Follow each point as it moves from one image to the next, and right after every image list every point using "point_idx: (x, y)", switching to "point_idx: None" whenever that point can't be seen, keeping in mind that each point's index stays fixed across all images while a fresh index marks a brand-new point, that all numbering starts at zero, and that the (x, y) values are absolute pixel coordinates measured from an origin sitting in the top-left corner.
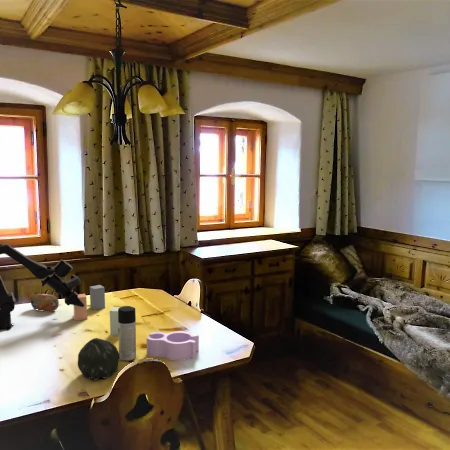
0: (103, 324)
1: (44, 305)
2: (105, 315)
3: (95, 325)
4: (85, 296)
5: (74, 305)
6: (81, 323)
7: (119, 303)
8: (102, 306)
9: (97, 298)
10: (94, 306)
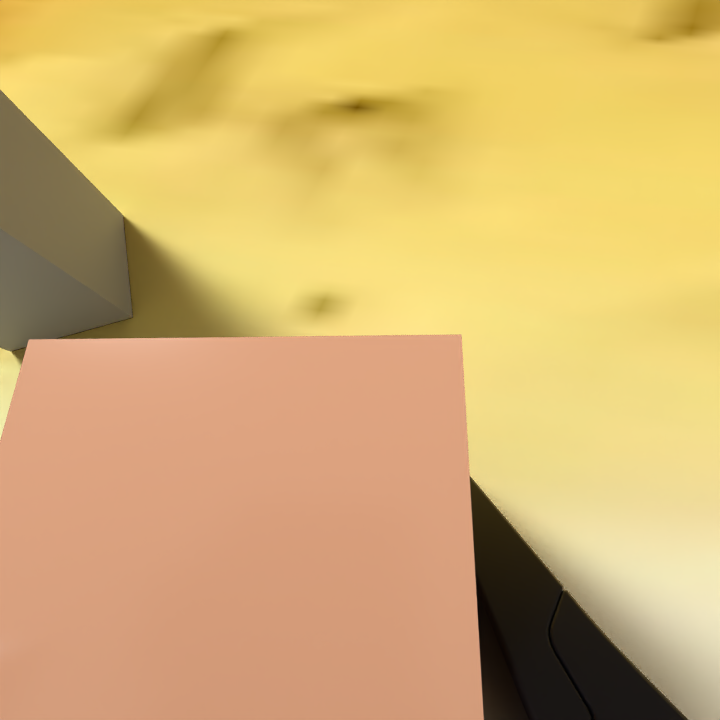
0: (662, 289)
1: None
2: (361, 237)
3: (678, 377)
4: (392, 358)
5: None
6: (555, 538)
7: (72, 91)
8: (110, 225)
9: (18, 198)
10: (94, 301)
